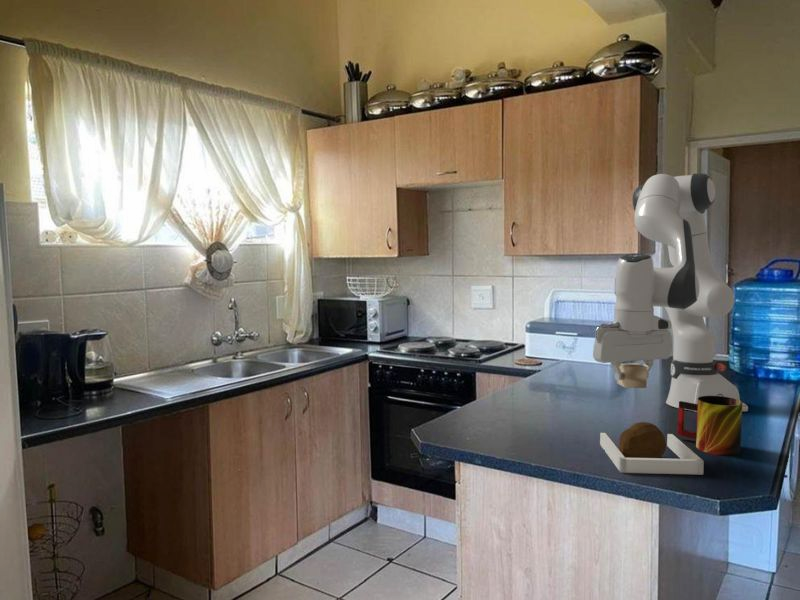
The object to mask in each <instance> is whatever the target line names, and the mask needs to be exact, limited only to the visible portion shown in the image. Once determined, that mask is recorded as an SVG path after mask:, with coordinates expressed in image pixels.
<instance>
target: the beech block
mask: <svg viewBox="0 0 800 600" xmlns="http://www.w3.org/2000/svg"><path fill="white" fill-rule="evenodd" d="M619 368H620V370H621V372H622V373H624V380H616V384H617V385H619V386H622V387H623V388H624V389H646V388H647V380H648V378H647V367H646V366H644V364H641V363H639V362H625V363H624V362H621V366H619Z"/></svg>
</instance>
